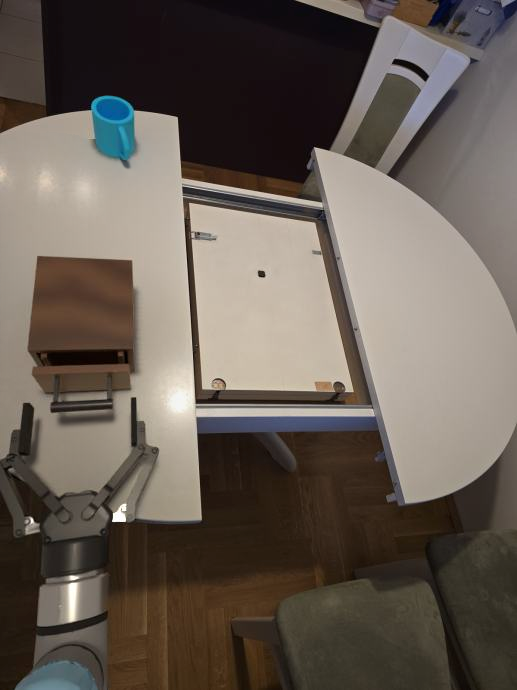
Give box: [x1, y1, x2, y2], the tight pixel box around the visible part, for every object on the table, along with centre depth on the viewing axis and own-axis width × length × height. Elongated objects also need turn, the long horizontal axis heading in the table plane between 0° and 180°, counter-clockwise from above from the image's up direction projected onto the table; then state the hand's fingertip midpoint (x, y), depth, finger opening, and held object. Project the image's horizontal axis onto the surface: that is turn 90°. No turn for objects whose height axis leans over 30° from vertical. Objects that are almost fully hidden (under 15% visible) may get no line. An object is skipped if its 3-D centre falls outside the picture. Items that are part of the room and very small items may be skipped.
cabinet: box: [27, 255, 135, 373], centre depth 62 cm, size 16×14×10 cm
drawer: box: [31, 351, 132, 414], centre depth 60 cm, size 20×13×8 cm, turn 8°
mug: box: [90, 95, 136, 161], centre depth 82 cm, size 12×8×8 cm
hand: (83, 402), depth 55 cm, fingers open, 13 cm apart
